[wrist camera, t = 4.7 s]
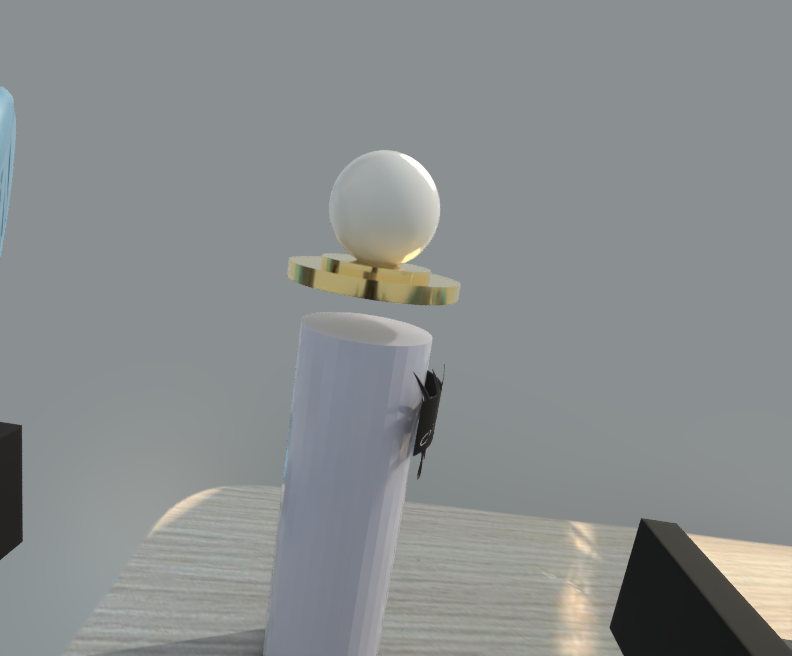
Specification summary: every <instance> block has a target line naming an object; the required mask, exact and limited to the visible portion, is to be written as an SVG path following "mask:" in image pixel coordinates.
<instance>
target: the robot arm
mask: <svg viewBox="0 0 792 656" xmlns="http://www.w3.org/2000/svg"><path fill="white" fill-rule="evenodd" d="M15 136H16V115H15V111H14V101H13V97H12V95H11V94H10V93H9V92H8V91H7V90H6V89H5V88H3V87H2V86H0V258H1V252H2V247H3V241H4V235H5V228H6V222H7V215H8V208H9V201H10V192H11V184H12V175H13V165H14V154H15V153H14V152H15ZM22 537H23V535H22V425H17V424H10V423H3V422H0V560H1V559H2V558H3V557H4V556H6V555H7V554H8V553H9V552H10V551H12V550H13V549H14V548H15V547H16V546H18V545H19V544H20V543H21V542H22V541H23V539H22ZM610 630H611V632H612V634H613V635H614V637H615V639H616V641H617V643H618V645H619V647H620V649H621V651H622V653H623V655H624V656H792V650H791V649H790V648H789V647H788V646H787V645H786V643H785V642H784V641H783V640H782V639H781V638H780V637H779V636H778V635H777V634H776V632H775V631H774V630H773V629H772V628H771V627H770V626H769V625H768V624H767V623H766V621H765V620H764V619H763V618H762V617H761V616H760V615H759V614H758V613H757V612H756V610H755V609H754V608H753V607H752V606H751V605H750V604H749V603H748V602H747V601H746V599H745V598H744V597H743V596H742V595H741V594H740V593H739V592H738V591H737V589H736V588H735V587H734V586H733V585H732V584H731V583H730V582H729V581H728V580H727V578H726V577H725V576H724V575H723V574H722V573H721V572H720V571H719V570H718V569H717V567H716V566H715V565H714V564H713V563H712V562H711V561H710V560H709V559H708V558H707V556H706V555H705V554H704V553H703V552H702V551H701V550H700V549H699V548H698V547H697V545H696V544H695V543H694V542H693V541H692V540H691V539H690V538H689V537H688V536H687V534H686V533H685V532H684V531H683V530H682V529H681V528H680V527H679V526H678V525H677V524H675V523H669V522H662V521H656V520H649V519H642V518H641V521H640V524H639V527H638V531H637V534H636V538H635V541H634V545H633V548H632V552H631V555H630V559H629V562H628V566H627V569H626V572H625V576H624V579H623V583H622V586H621V590H620V593H619V597H618V600H617V604H616V607H615V611H614V614H613V618H612V621H611V624H610Z"/></svg>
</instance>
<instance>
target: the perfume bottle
mask: <svg viewBox="0 0 792 656" xmlns="http://www.w3.org/2000/svg"><path fill="white" fill-rule="evenodd" d="M329 216H330V221H331V226H332V229H333V231H334V234H335V236H336V238H337V239H338V241H339V242H340V244H341V245H342V246H343V248H344V249H345V250H346V251H347V252H348V253H349V254H350V255H347V254H330V253H327V254H322V257H317V256H295V257H290V258H289V264H288V274H287V277H288V278H289V279H291V280H293V281H295V282H297V283H300V284H303V285H305V286H308V287H312V288H316V289H319V290H323V291H328V292H332V293H337V294H342V295H347V296H352V297H358V298H365V299H370V300H377V301H385V302H393V303H403V304H414V305H449V304H454V303H456V302H457V301H458V297H459V292H460V287H461V284H460V283H459V282H457V281H455V280H452V279H449V278H446V277H443V276H439V275H435V274H431V271H430V270H429V269H426V268H423V267H419V266H415V265H411V264H406V262H408V261H410V260H411V259H413V258H415V257H416V256H417V255H419V254H420V253H421V252H422V251H423V250H424V249H425V248H426V247H427V245H428V244H429V243H430V241H431V240H432V238H433V236H434V234H435V232H436V230H437V226H438V222H439V218H440V201H439V194H438V191H437V188H436V185H435V183H434V181H433V179H432V177H431V176H430V174H429V173H428V172H427V170H426V169H425V168H424V167H423V166H422V165H421V164H420V163H418V162H417V161H416V160H415V159H413V158H411V157H409V156H407V155H405V154H403V153H400V152H396V151H389V150H380V151H372V152H369V153H367V154H364V155H361V156H359V157H358V158H356V159H355V160H353V161H352V162H351V163H350V164H348V165H347V166H346V167H345V168H344V169H343V171H342V172H341V173H340V175H339V176H338V178H337V179H336V181H335V184H334V186H333V188H332V191H331V196H330V200H329ZM432 340H433V338H432V336H431V334H430V333H428V332H427V331H425V330H423V329H421V328H419V327H416V326H414V325H411V324H408V323H404V322H401V321H397V320H393V319H389V318H383V317H378V316H372V315H365V314H357V313H345V312H344V313H343V312H322V313H314V314H309V315H306V316H304V317H303V318H302V319H301V328H300V336H299V346H298V353H297V362H296V371H295V379H294V389H293V397H292V405H291V414H290V423H289V432H288V440H287V448H286V458H285V466H284V475H283V483H282V492H281V500H280V509H279V518H278V526H277V535H276V544H275V552H274V561H273V570H272V578H271V587H270V596H269V604H268V613H267V622H266V630H265V639H264V648H263V656H377V655H378V649H379V644H380V638H381V632H382V627H383V621H384V615H385V609H386V604H387V598H388V592H389V586H390V581H391V575H392V569H393V563H394V558H395V552H396V546H397V541H398V535H399V529H400V523H401V518H402V512H403V506H404V500H405V494H406V489H407V483H408V477H409V472H410V466H411V460H412V454H413V456H415V455H417V454H418V453H421V454H422V456H421V462H420V466H419V470H418V474H417V479H418V478H419V477H420V474H421V469H422V460H423V456H424V458H425V452H426V449H427V448H428V446H429V445H430V444H431V442H432V439H433V434H434V429H435V428H434V427H435V422H436V418H437V412H438V407H439V402H440V396H441V391H442V385H443V381H442V384H441V382H440V380H439V379H438V378H437V377H436V375H435V373H434V371H433V373H431V372H430V371H428V370H427V368H428V363H429V357H430V351H431V346H432ZM444 366H445V365H444ZM443 379H444V378H443ZM423 396H424V401H423ZM431 397H432V398H431ZM418 420H419V422H418ZM433 424H434V425H433ZM417 426H418V427H417ZM430 430H432V431H431V433H430ZM416 432H417V433H416ZM428 432H429V433H428ZM427 433H428V434H427ZM426 434H427V435H426ZM429 434H430V435H429ZM425 435H426V436H425ZM424 436H425V437H424ZM415 437H416V439H415ZM423 437H424V439H423V441H422V443H421V444H423V443H424V442H425V441H426V440H427V441H426V443H425V444H423V445H422V446H420V442H421V440H422V438H423ZM414 443H415V445H414ZM413 449H414V450H413Z"/></svg>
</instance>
